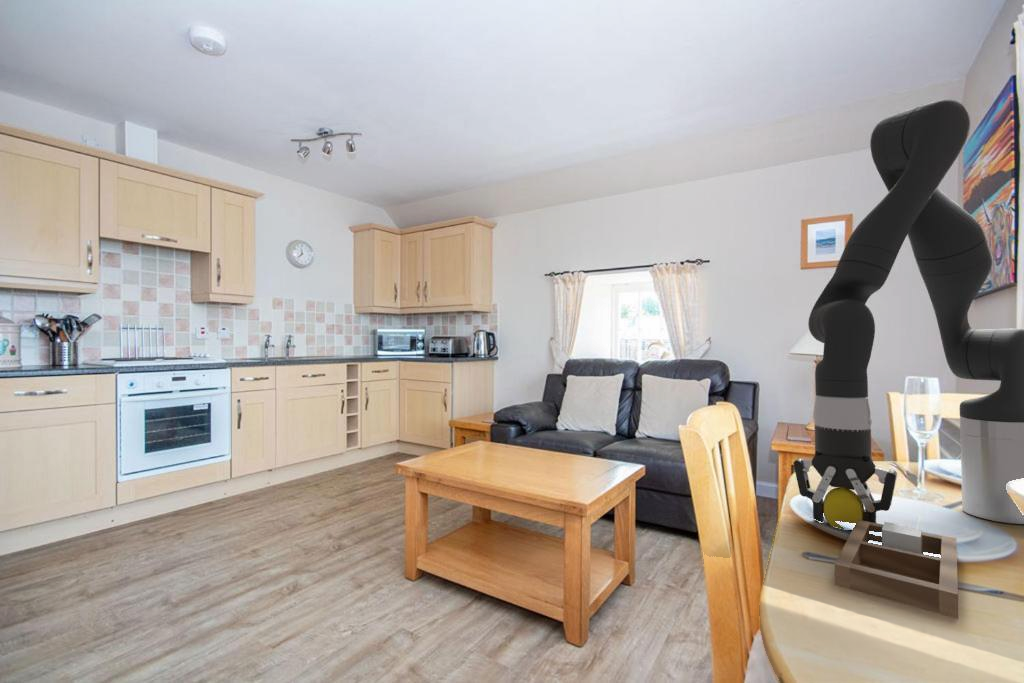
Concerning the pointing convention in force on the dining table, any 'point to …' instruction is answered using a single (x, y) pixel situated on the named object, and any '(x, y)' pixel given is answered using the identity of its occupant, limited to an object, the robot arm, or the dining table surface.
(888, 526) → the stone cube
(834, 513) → the lemon
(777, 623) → the dining table surface
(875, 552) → the wooden tray
